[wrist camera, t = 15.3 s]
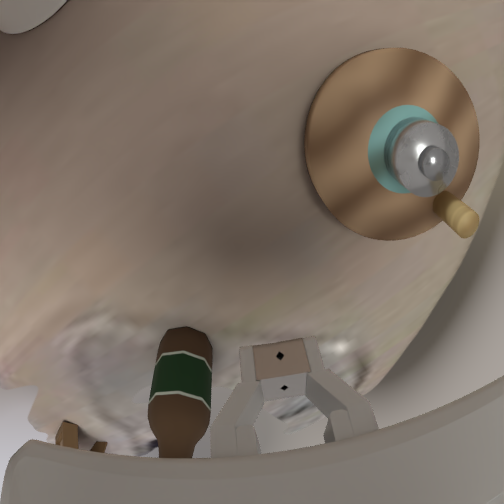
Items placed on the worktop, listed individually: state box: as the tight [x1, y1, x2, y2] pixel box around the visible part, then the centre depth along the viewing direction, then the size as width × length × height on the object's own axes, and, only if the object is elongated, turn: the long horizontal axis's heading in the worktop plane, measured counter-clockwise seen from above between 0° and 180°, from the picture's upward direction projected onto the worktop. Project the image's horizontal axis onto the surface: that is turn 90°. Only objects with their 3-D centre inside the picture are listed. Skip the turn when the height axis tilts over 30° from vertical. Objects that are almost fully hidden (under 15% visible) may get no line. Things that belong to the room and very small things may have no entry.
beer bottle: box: [148, 327, 212, 458], centre depth 32 cm, size 8×8×24 cm
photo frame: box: [55, 422, 107, 453], centre depth 57 cm, size 15×22×25 cm
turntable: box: [304, 48, 479, 240], centre depth 23 cm, size 20×20×7 cm
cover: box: [384, 117, 459, 197], centre depth 23 cm, size 7×7×4 cm
